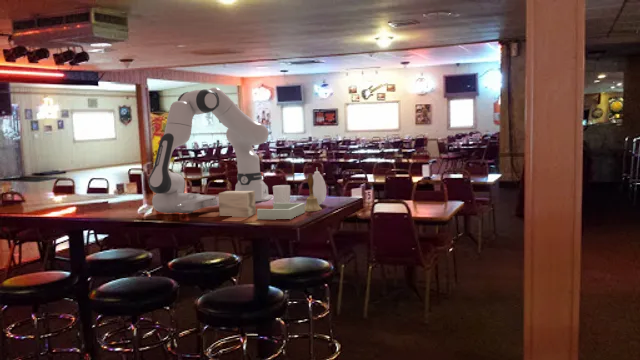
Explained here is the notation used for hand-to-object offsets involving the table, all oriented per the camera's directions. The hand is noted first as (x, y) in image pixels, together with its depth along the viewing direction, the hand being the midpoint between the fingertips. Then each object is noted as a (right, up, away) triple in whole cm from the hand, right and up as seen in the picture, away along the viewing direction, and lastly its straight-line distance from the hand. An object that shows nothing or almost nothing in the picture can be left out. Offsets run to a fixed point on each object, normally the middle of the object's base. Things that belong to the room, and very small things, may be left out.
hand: (215, 203), depth 237 cm
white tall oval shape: (+44, -2, +19) cm, 48 cm away
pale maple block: (+10, -5, -3) cm, 12 cm away
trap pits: (+5, -5, -6) cm, 9 cm away
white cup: (+28, -3, +14) cm, 31 cm away
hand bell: (+42, -3, +4) cm, 42 cm away
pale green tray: (+29, -5, -9) cm, 31 cm away
